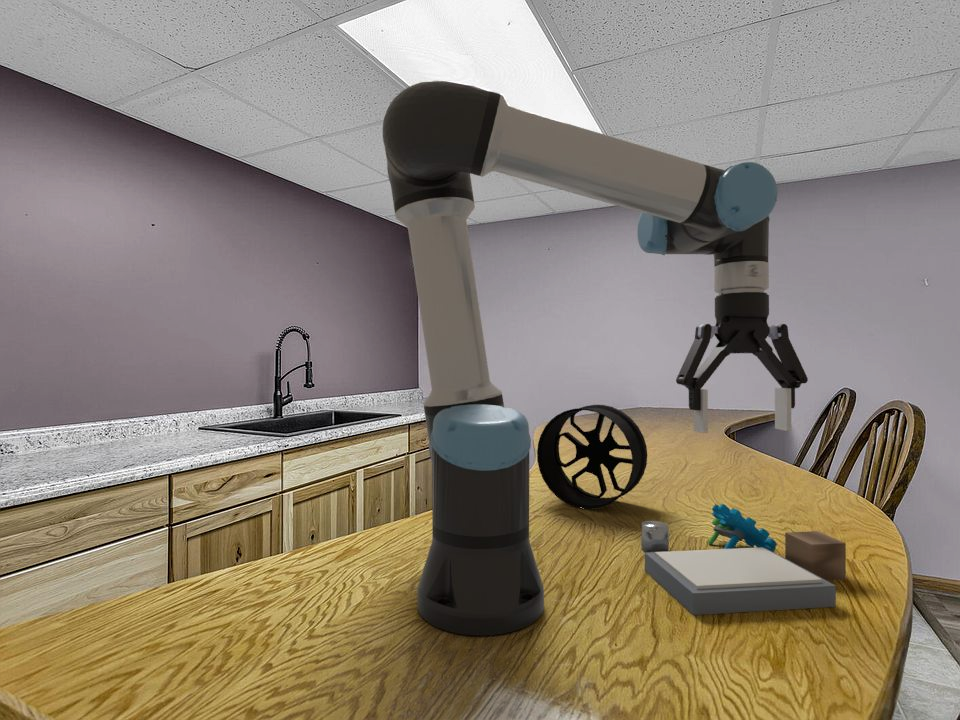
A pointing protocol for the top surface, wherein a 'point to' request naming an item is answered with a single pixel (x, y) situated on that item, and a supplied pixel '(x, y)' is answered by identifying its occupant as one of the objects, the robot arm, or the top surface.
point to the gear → (738, 529)
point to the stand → (737, 581)
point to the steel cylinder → (654, 536)
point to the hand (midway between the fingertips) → (742, 431)
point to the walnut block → (817, 554)
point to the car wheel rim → (590, 456)
